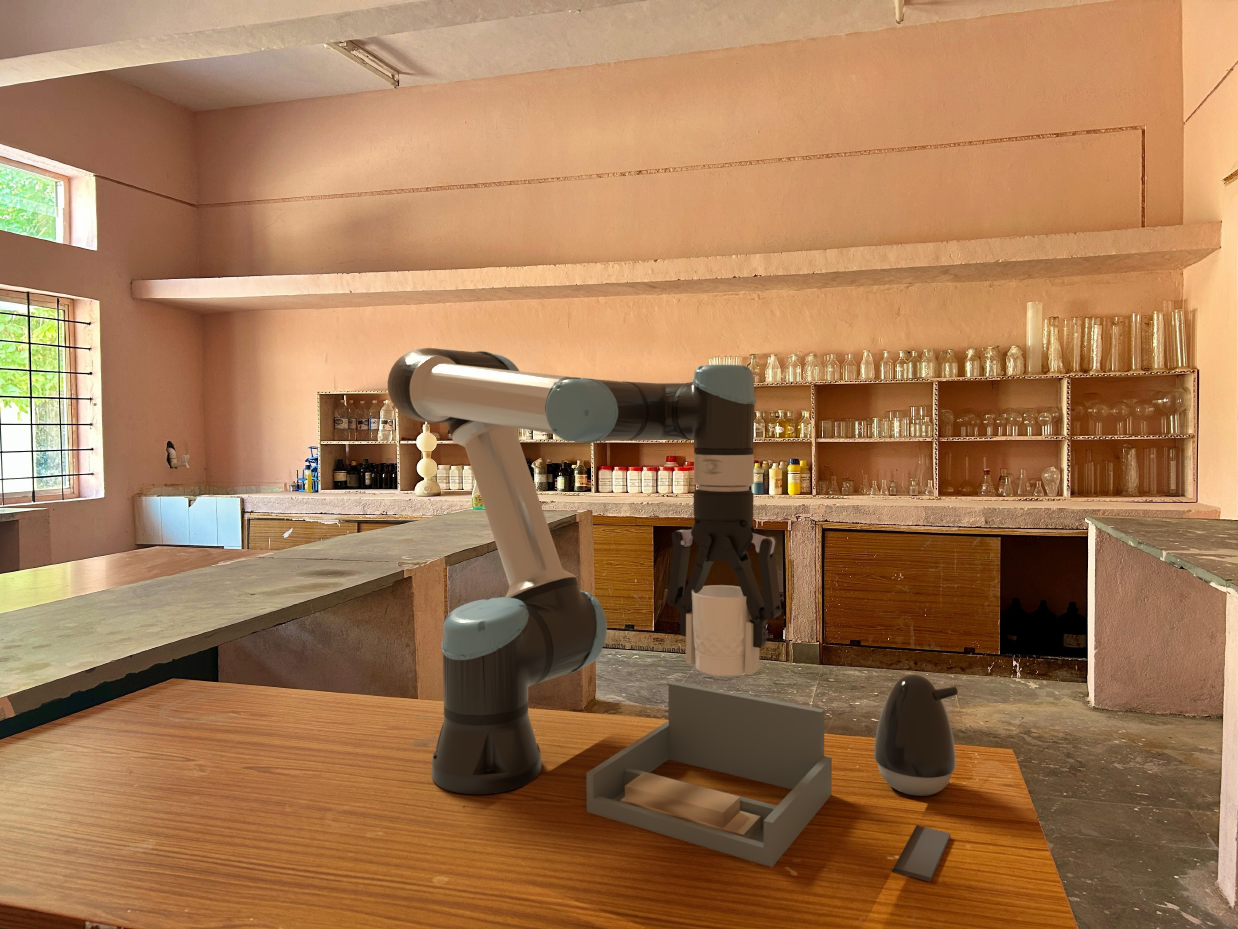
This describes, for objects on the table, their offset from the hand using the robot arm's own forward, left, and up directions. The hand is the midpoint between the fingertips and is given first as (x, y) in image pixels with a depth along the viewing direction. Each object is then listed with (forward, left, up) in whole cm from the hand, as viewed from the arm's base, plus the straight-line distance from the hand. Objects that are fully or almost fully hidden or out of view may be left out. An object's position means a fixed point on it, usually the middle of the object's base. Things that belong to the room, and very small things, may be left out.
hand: (722, 666), depth 104 cm
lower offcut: (0, -10, -16) cm, 19 cm away
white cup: (0, 0, -1) cm, 1 cm away
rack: (0, -3, -18) cm, 18 cm away
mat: (+21, 0, -18) cm, 27 cm away
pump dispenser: (+20, +17, -18) cm, 32 cm away
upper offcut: (-1, -10, -15) cm, 17 cm away
